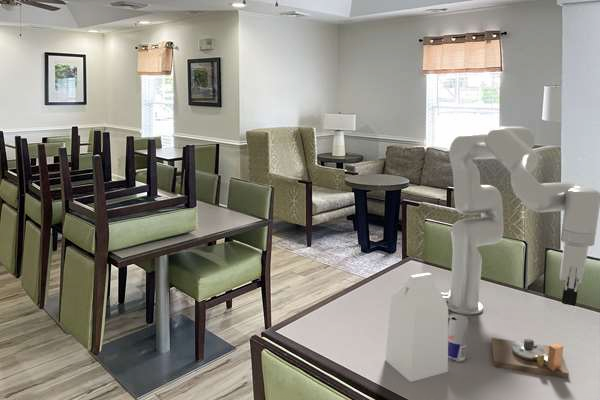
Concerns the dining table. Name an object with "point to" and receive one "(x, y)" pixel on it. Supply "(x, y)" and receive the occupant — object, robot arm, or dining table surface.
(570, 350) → the dining table surface
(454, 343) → the energy drink
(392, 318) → the milk
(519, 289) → the dining table surface
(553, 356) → the crank handle
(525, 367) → the walnut board
